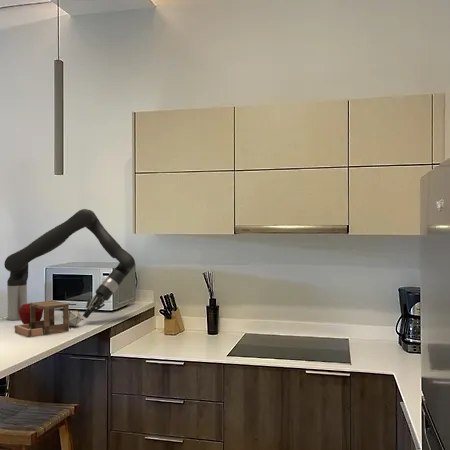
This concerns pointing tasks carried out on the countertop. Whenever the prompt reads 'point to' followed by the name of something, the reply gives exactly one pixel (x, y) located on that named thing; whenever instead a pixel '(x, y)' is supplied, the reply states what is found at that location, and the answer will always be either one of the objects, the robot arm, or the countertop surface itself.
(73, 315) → the game die
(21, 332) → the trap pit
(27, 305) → the apple
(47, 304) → the tunnel
